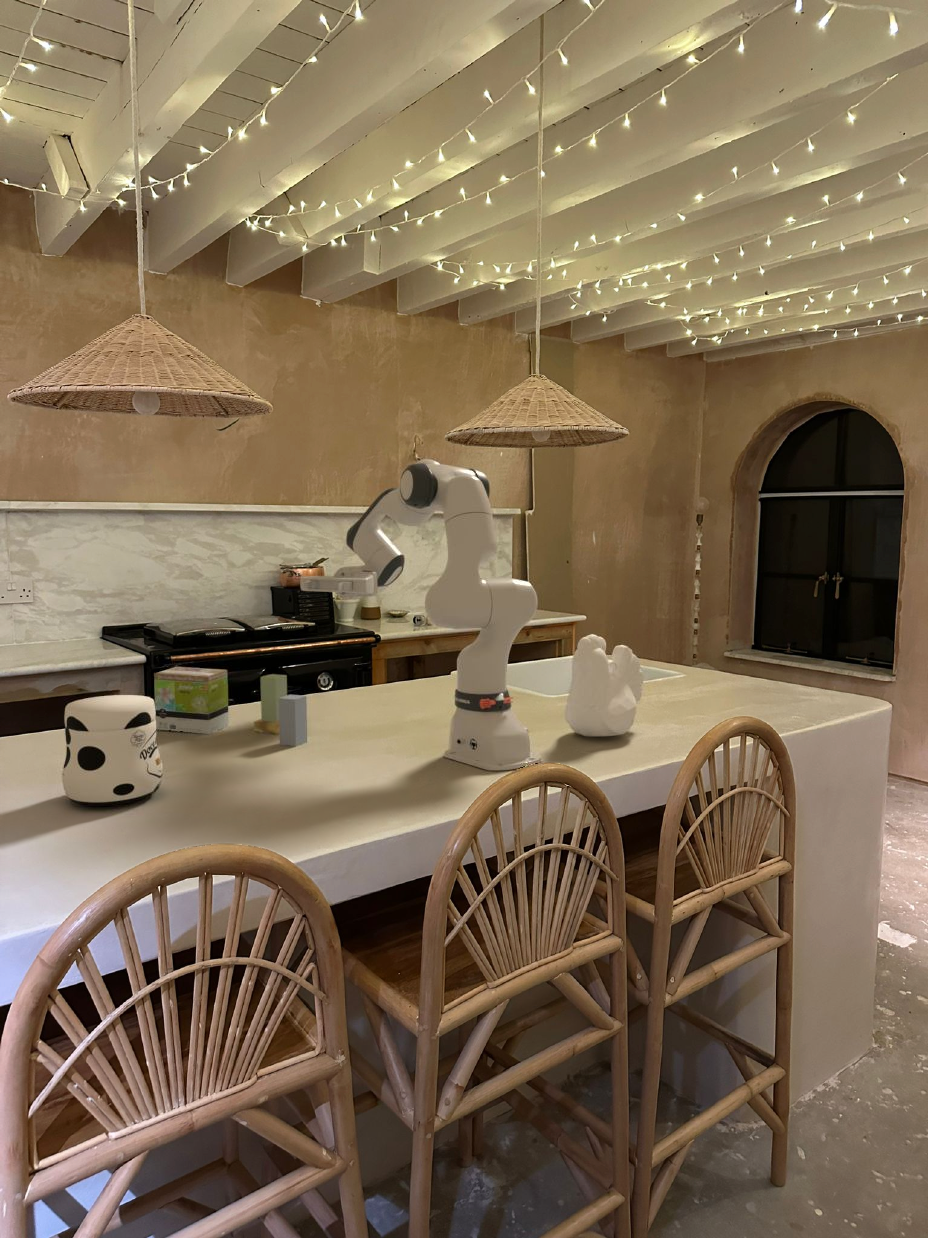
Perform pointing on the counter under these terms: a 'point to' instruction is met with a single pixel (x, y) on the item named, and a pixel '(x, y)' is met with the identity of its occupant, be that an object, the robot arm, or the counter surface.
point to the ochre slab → (266, 726)
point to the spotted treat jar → (111, 750)
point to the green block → (272, 696)
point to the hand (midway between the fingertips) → (321, 586)
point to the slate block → (293, 720)
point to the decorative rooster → (603, 689)
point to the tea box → (191, 699)
